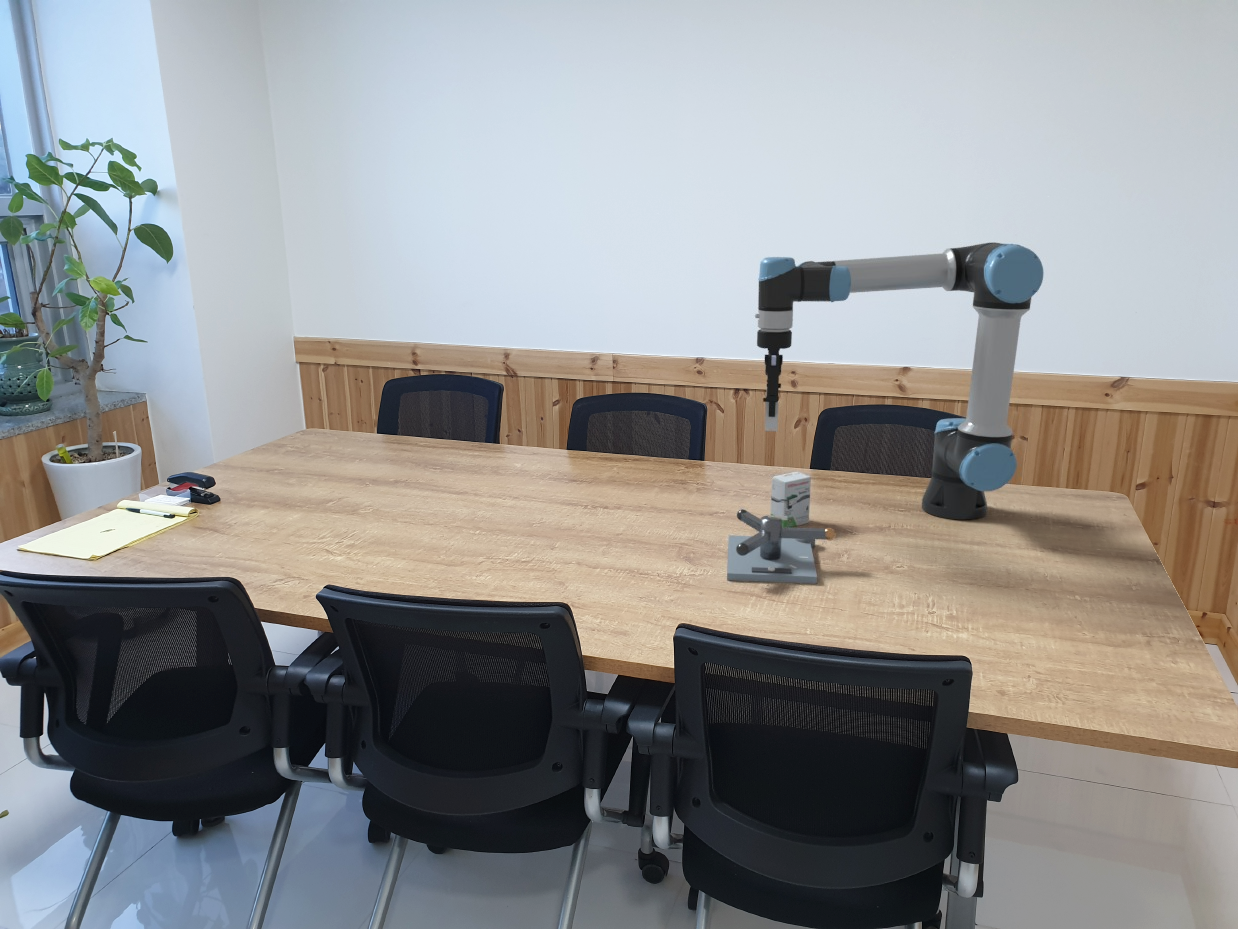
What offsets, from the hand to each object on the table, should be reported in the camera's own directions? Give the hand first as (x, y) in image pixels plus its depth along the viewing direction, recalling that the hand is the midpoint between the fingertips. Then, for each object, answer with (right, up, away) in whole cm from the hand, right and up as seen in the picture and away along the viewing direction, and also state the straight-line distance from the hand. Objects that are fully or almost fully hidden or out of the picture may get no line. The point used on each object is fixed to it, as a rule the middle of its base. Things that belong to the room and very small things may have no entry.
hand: (771, 423), depth 206 cm
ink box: (+6, -24, +12) cm, 27 cm away
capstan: (+1, -29, -12) cm, 31 cm away
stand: (-2, -30, -11) cm, 32 cm away
